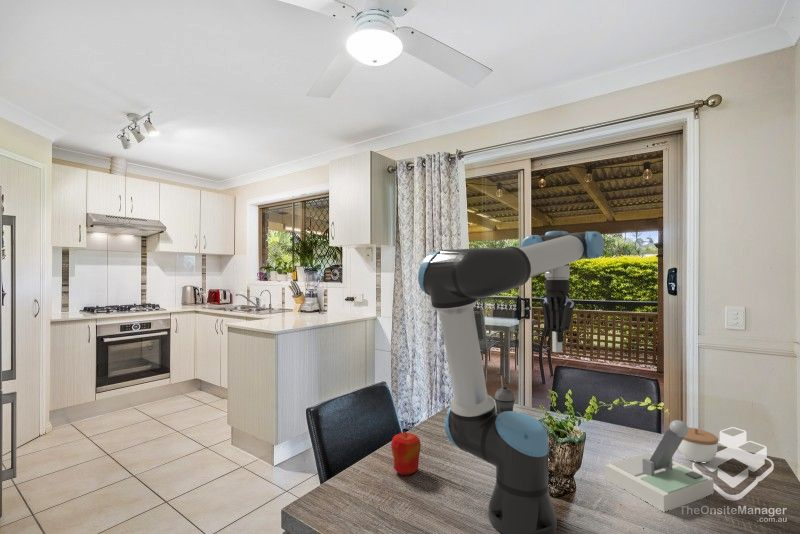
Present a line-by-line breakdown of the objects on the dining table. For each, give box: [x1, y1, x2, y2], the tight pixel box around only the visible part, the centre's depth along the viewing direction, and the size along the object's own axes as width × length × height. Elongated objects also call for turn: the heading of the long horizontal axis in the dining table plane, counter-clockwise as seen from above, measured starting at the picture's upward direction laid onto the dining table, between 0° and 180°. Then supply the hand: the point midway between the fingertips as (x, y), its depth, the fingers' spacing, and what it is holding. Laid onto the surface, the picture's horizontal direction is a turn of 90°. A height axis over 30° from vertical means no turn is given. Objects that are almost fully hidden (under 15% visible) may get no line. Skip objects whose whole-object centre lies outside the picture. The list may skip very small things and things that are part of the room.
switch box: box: [604, 452, 715, 513], centre depth 103 cm, size 16×20×8 cm
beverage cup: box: [493, 375, 516, 414], centre depth 140 cm, size 7×7×20 cm
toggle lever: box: [650, 419, 689, 471], centre depth 101 cm, size 4×5×16 cm
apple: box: [390, 430, 422, 476], centre depth 111 cm, size 9×8×12 cm
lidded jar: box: [677, 427, 719, 463], centre depth 119 cm, size 11×11×9 cm
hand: (557, 351), depth 124 cm, fingers closed
